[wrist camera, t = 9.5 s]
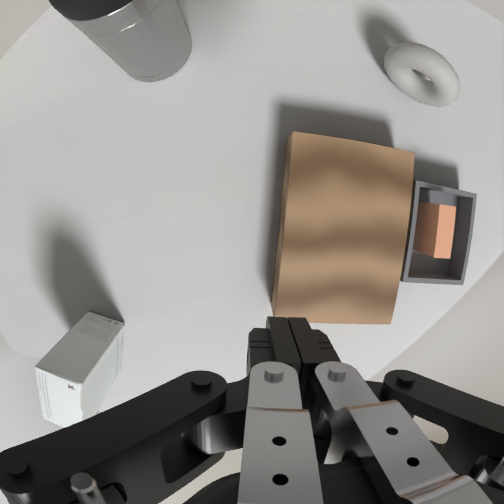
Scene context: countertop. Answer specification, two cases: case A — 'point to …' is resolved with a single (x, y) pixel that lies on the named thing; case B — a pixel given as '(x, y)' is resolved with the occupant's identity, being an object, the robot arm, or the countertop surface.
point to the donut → (430, 64)
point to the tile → (434, 229)
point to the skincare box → (80, 370)
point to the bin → (453, 269)
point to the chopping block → (341, 230)
